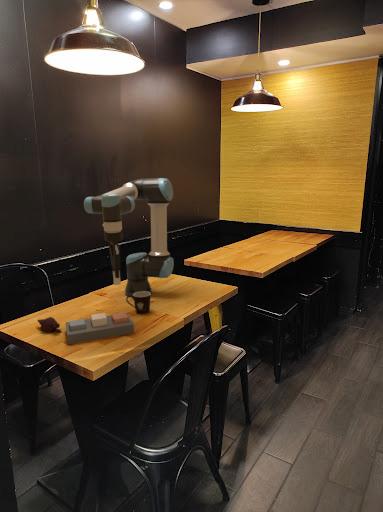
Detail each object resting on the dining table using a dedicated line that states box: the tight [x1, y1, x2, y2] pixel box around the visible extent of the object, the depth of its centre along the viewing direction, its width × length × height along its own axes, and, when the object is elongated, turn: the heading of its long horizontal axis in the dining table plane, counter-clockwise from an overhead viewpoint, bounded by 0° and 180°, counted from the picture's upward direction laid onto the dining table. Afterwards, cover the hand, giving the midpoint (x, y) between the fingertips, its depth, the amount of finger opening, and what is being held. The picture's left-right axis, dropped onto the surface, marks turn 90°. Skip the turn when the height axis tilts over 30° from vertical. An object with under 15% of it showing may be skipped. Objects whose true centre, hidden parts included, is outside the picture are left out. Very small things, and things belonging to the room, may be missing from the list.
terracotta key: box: [111, 312, 128, 324], centre depth 162 cm, size 6×6×4 cm
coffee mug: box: [125, 291, 152, 315], centre depth 182 cm, size 12×9×10 cm
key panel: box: [65, 312, 135, 345], centre depth 159 cm, size 27×14×5 cm, turn 111°
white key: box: [90, 312, 107, 327], centre depth 158 cm, size 6×6×4 cm
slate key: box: [68, 318, 86, 331], centre depth 155 cm, size 6×6×4 cm
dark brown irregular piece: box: [37, 316, 62, 334], centre depth 162 cm, size 7×7×15 cm
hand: (117, 284), depth 161 cm, fingers closed
